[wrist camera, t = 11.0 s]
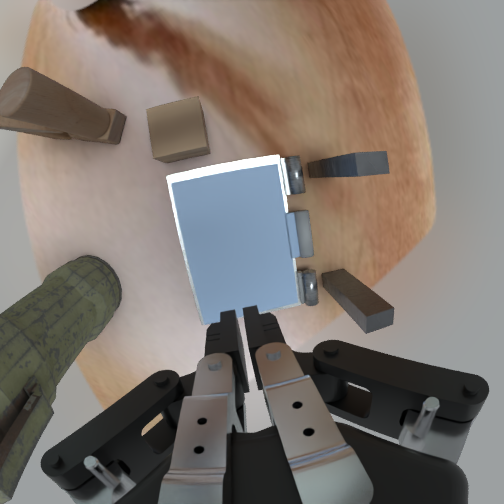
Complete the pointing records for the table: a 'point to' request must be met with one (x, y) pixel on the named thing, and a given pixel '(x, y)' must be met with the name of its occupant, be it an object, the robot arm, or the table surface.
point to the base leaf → (335, 282)
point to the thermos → (46, 353)
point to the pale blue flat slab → (241, 240)
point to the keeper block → (178, 130)
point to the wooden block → (54, 110)
